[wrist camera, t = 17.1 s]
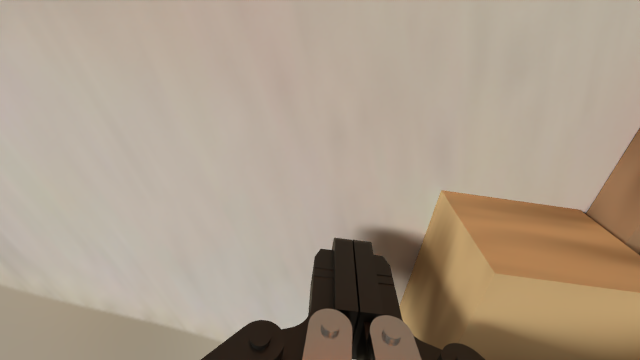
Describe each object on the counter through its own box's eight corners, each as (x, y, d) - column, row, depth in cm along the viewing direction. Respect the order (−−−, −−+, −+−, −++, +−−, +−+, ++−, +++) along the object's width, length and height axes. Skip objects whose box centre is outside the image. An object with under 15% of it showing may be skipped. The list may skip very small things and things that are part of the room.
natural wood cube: (440, 188, 13) (495, 273, 9) (577, 207, 13) (699, 301, 9) (394, 316, 17) (416, 423, 12) (502, 330, 17) (562, 441, 12)
